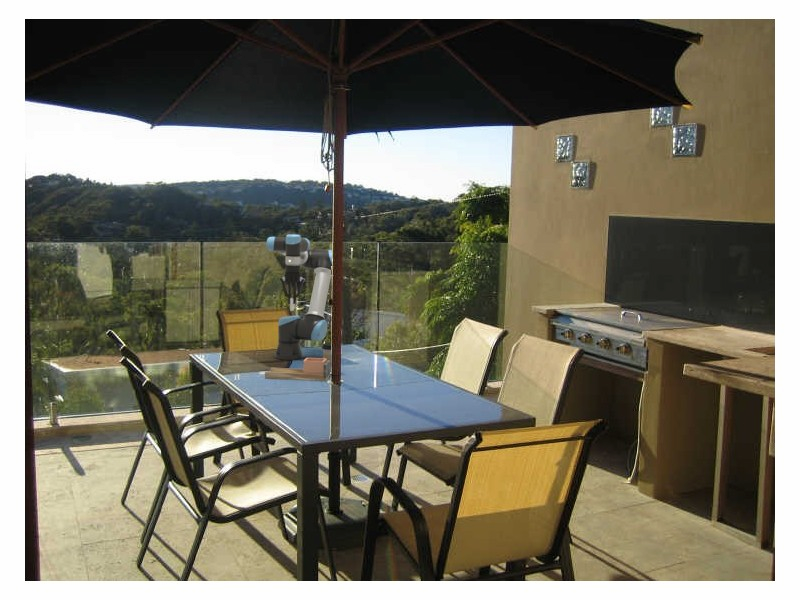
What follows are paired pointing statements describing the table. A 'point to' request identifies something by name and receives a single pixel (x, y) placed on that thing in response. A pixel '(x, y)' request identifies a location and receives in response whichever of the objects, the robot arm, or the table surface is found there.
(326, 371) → the bay
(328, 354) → the coffee cup
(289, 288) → the robot arm
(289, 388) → the table surface
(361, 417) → the table surface
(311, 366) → the box
